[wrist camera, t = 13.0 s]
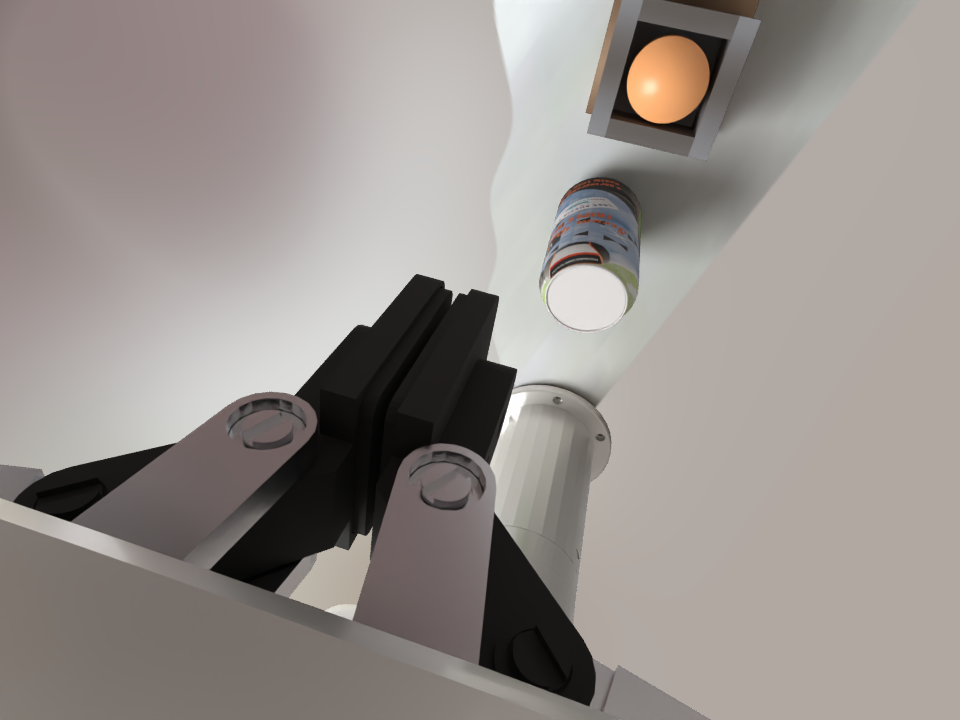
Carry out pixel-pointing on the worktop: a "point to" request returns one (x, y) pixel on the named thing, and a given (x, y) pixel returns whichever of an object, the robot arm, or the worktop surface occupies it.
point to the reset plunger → (667, 78)
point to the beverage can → (593, 256)
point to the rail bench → (658, 11)
